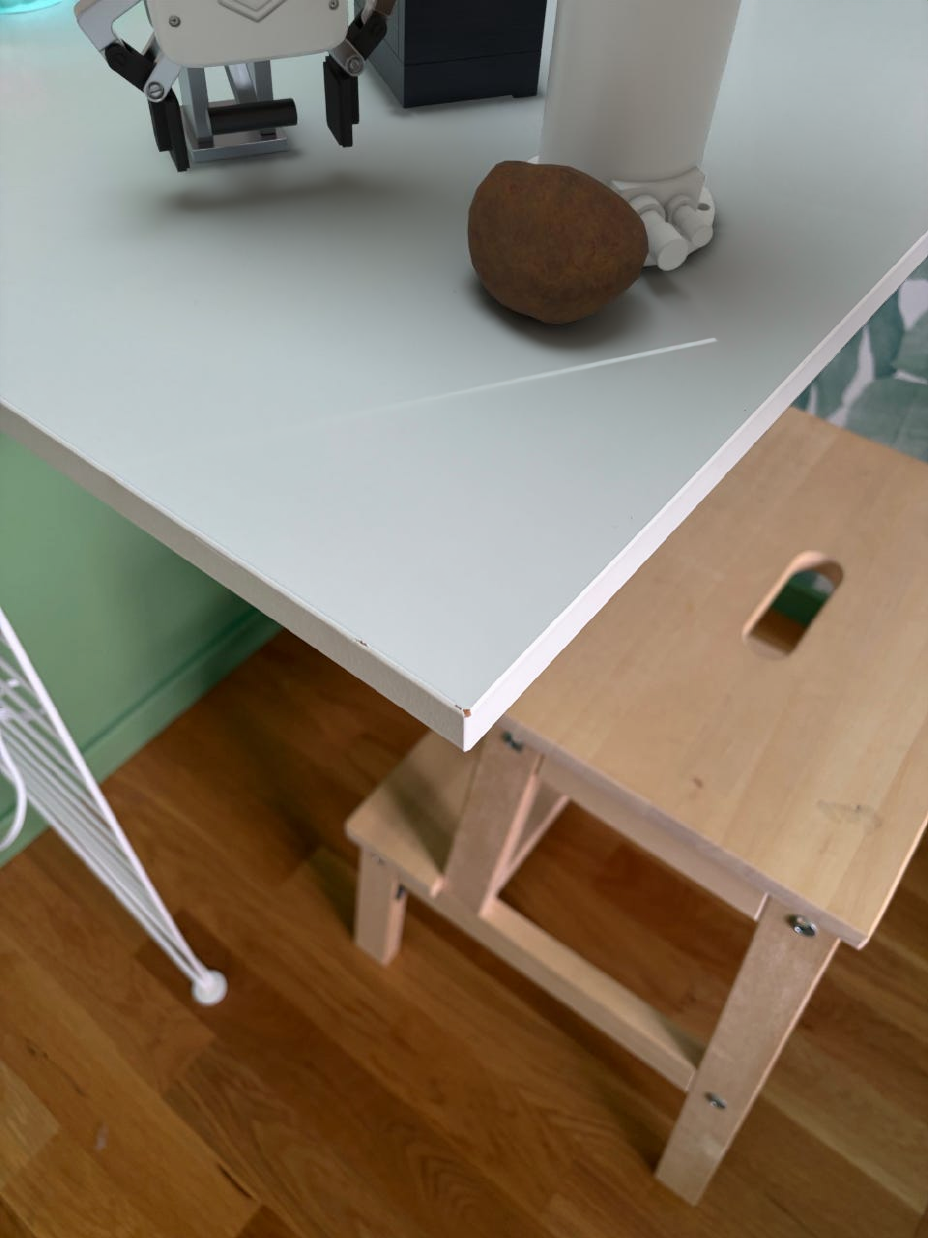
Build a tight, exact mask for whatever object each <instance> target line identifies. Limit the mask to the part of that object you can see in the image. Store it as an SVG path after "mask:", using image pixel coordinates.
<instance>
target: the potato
mask: <svg viewBox="0 0 928 1238" xmlns="http://www.w3.org/2000/svg"><path fill="white" fill-rule="evenodd" d="M467 212H468V213H467V228H466V229H467V230H466V233H467V244H468V251H469V256H470V257H469V258H470V262H471V265H472V267H473V269H474V271H475V273H476V275H477V277H478V279H479V280H480V281H481V283H482V285H483V286H484V288H485V289H486V290H487V292H488V293H489V294H490V296H491V297H493V298H494V299H495V300H496V301H497V302H498V303H499V304H501V306H503V307H505V308H507V309H509V310H512V311H514V312H515V313H518V314H521V315H525V316H528V317H530V318H533V319H536V320H538V321H541V322H542V323H545V324H548V325H549V324H552V325H553V324H554V325H555V324H556V325H564V324H567V323H572V322H576V321H579V320H581V319H584V318H586V317H589V316H591V315H593V314H595V313H597V312H599V311H600V310H602V309H604V308H606V307H608V305H610V304H611V303H612V302H613V301H615V300H616V299H617V298H619V297H620V296H621V295H622V294H624V293H625V292H626V291H627V290H629V289H630V288H631V286H633V285H634V284H635V283H636V282H637V281H638V280H639V277H640V276H641V275H640V274H641V273H642V270H643V265H644V262H645V260H646V257H647V255H648V252H649V245H648V236H647V232H646V228H645V225H644V222H643V221H642V219H641V218H640V216H639V215H638V213H637V212H636V211H635V210H634V209H633V208H632V207H631V205H630V204H629V203H628V202H627V201H626V200H625V199H624V198H622V197H621V196H620V195H618V194H617V193H616V192H614V191H613V190H611V189H610V188H609V187H607V186H606V185H604V184H603V183H601V182H600V181H598V180H596V179H595V178H593V177H591V176H590V175H588V174H586V173H584V172H582V171H579V170H577V169H575V168H573V167H570V166H563V165H555V164H533V163H528V162H526V161H523V160H502V161H501V162H498V163H496V164H495V165H494V166H493V168H492V169H491V170H490V171H489V172H488V174H487V175H486V176H485V177H484V178H483V180H482V181H481V182H480V183H479V184H478V186H477V187H476V188H475V191H474V194H473V197H472V199H471V203H470V205H469V208H468V211H467Z"/></svg>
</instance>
